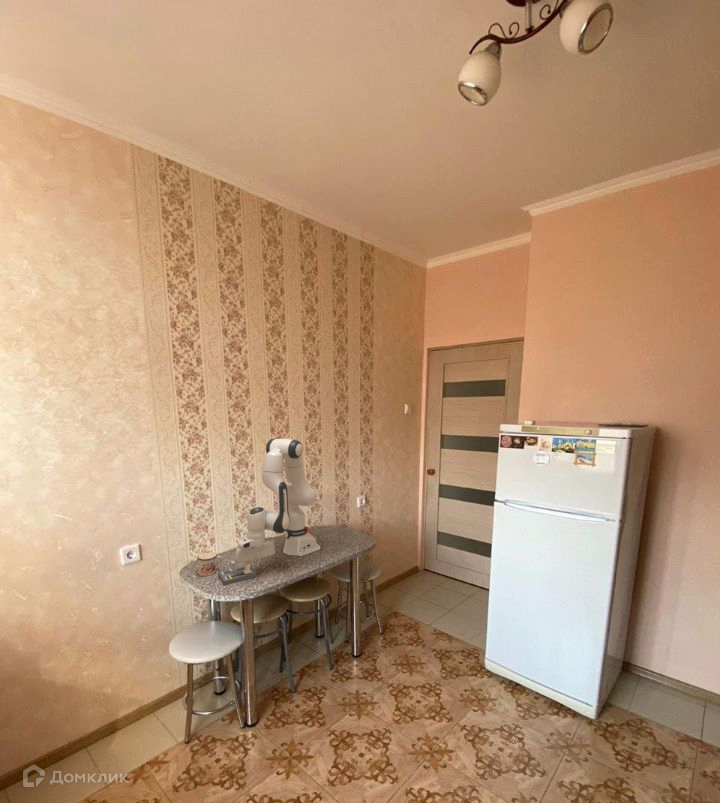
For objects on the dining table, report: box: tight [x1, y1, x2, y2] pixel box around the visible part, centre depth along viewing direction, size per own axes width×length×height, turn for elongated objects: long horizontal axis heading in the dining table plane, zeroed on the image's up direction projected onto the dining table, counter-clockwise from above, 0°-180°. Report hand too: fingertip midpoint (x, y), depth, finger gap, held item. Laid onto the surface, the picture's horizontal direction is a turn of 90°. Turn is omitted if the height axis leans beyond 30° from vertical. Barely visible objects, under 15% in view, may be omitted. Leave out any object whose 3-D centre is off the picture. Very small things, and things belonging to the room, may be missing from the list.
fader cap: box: [243, 561, 251, 574], centre depth 186 cm, size 3×3×5 cm
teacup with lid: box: [197, 549, 223, 577], centre depth 190 cm, size 12×9×12 cm
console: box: [218, 559, 257, 586], centre depth 186 cm, size 16×11×7 cm
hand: (255, 566), depth 188 cm, fingers closed
